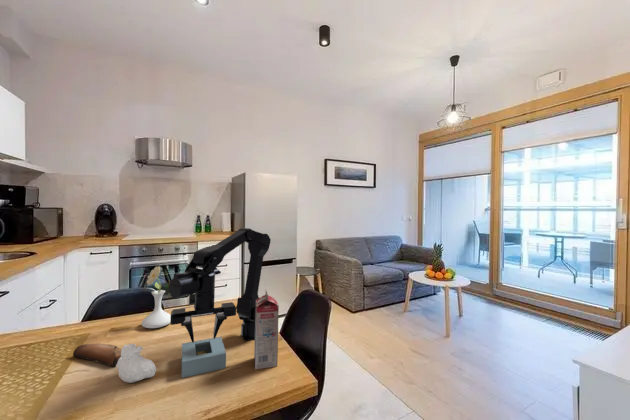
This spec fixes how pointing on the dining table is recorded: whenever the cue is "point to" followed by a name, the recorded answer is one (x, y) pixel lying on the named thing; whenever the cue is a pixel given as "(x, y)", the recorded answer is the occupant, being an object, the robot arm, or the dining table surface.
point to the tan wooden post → (201, 353)
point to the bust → (134, 364)
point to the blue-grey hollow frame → (203, 356)
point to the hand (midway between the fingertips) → (203, 340)
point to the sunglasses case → (99, 353)
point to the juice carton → (266, 332)
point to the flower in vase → (156, 304)
